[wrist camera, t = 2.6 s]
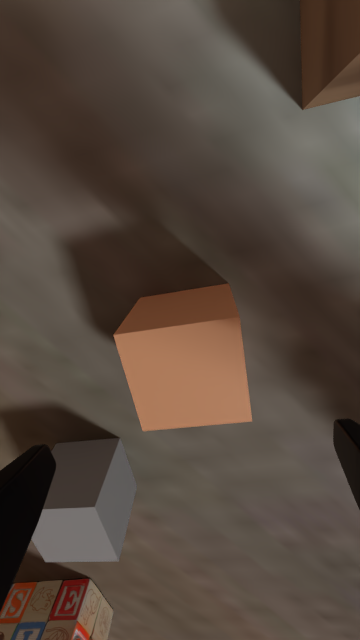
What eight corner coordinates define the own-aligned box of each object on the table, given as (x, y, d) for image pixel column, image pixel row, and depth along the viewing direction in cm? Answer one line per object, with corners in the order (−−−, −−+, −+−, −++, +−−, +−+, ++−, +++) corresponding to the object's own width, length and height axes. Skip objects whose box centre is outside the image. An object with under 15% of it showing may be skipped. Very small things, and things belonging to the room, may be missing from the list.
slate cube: (120, 437, 20) (94, 507, 15) (137, 485, 22) (118, 561, 17) (57, 442, 20) (14, 510, 16) (78, 488, 22) (45, 562, 18)
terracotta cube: (228, 282, 15) (239, 316, 10) (238, 362, 17) (252, 421, 12) (140, 297, 16) (113, 335, 11) (159, 371, 17) (142, 431, 13)
